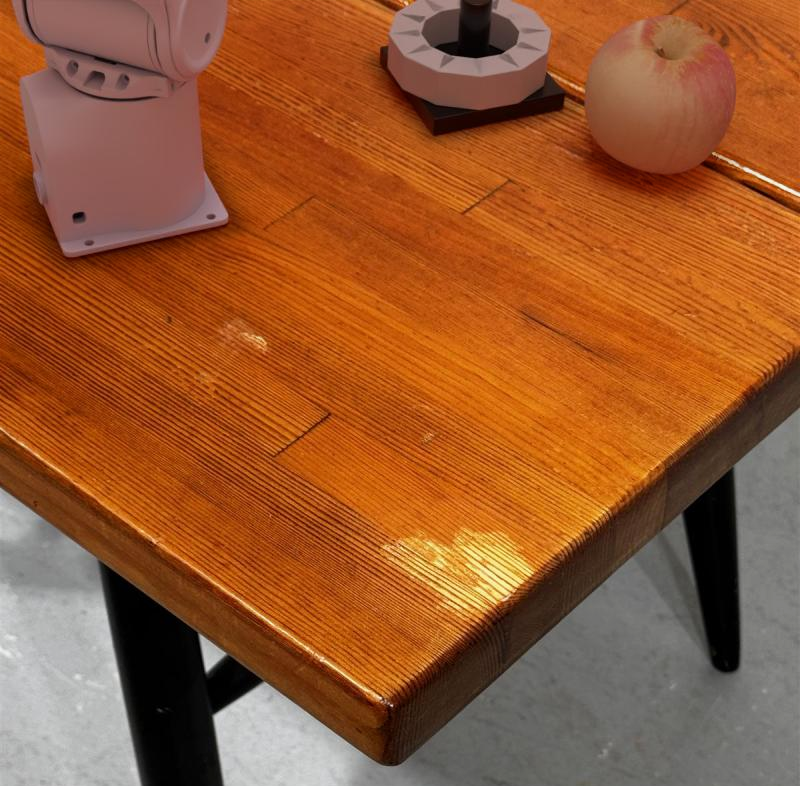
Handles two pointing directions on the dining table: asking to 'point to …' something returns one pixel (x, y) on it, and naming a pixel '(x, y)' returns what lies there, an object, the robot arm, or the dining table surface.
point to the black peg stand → (476, 45)
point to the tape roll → (462, 76)
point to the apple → (660, 95)
